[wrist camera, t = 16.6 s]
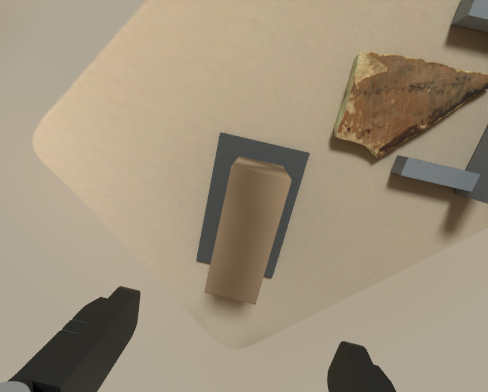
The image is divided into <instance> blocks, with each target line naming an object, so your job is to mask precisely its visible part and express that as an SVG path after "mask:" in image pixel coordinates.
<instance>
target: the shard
mask: <svg viewBox="0 0 488 392" xmlns="http://www.w3.org/2000/svg"><path fill="white" fill-rule="evenodd" d="M486 89H488V75H487V74H483V73H480V72H467V71H464V70H459V69H454V68H451V67H448V66H446V65H443V64H440V63H434V62H428V61H425V60H422V59H418V58H413V57H412V58H407V57H405V56H402V55H392V54H384V55H379V54H376V53H373V52H364V53H358V55H357V56H356V57H355V60H354V63H353V69H352V72H351V76H350V79H349V83H348V87H347V92H346V96H345V99H344V101H343V104H342V106H341V108H340V111H339V115H338V118H337V120H336V122H335V124H334V135H335V137H337V138H340V139H343V140H349V141H352V142H355V143H358V144H361V145H364V146H365V147H366V148H367V149H368V150H369V151H370V153H371V154H372V155H373V156H375V157H376V158H380V157H382V156H383V155H384V154H385V153H388V152H389V151H390V150H392V149H394V148H396V147H398V146H399V145H401V144H402V143H403V142H404V141H406V140H407V139H409V138H411V137H413V136H415V135H417V134H418V133H419V132H421V131H422V130H424V129H426V128H428V127H429V126H431V125H433V124H435V123H436V122H438V121H439V120H440V119H442V118H444V117H445V116H447V115H448V114H450V113H451V112H453V111H454V110H455V109H457V108H458V107H460V106H461V105H462V104H464V103H465V102H466V101H467V100H468V99H470V98H472V97H473V96H474V95H476V94H478V93H480V92H481V91H483V90H486Z"/></svg>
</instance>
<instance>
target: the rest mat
mask: <svg viewBox="0 0 488 392" xmlns="http://www.w3.org/2000/svg"><path fill="white" fill-rule="evenodd" d="M239 156H242V157H246V158H251V159H255V160H259V161H263V162H267V163H272V164H276V165H280V166H283V167H284V169H285V170H286V172H287V173H288V175H289V177H290V178H291V180H292V181H291V184H290V188H289V191H288V195H287V198H286V201H285V205H284V208H283V212H282V215H281V219H280V222H279V225H278V229H277V232H276V236H275V239H274V242H273V246H272V249H271V253H270V256H269V260H268V263H267V266H266V270H265V273H264V276H266V277H270V278H272V277H273V273H274V270H275V267H276V263H277V260H278V257H279V253H280V250H281V247H282V243H283V240H284V237H285V233H286V230H287V227H288V223H289V220H290V217H291V213H292V210H293V207H294V203H295V200H296V197H297V193H298V190H299V187H300V183H301V180H302V177H303V173H304V170H305V167H306V163H307V160H308V157H309V153H307V152H303V151H298V150H294V149H290V148H285V147H281V146H277V145H272V144H268V143H264V142H260V141H255V140H251V139H247V138H242V137H238V136H234V135H229V134H225V133H220V136H219V142H218V147H217V152H216V158H215V163H214V168H213V174H212V179H211V184H210V190H209V195H208V201H207V206H206V211H205V217H204V222H203V227H202V233H201V238H200V243H199V249H198V254H197V259H196V260H197V261H202V262H206V263H210V264H211V260H212V255H213V250H214V246H215V241H216V236H217V232H218V227H219V222H220V218H221V213H222V208H223V203H224V199H225V194H226V189H227V185H228V180H229V175H230V171H231V166H232V165H233V163H234V162H235V161H236V160H237V158H238V157H239Z"/></svg>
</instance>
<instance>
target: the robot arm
mask: <svg viewBox="0 0 488 392" xmlns="http://www.w3.org/2000/svg"><path fill="white" fill-rule="evenodd" d="M139 302H140V291H138V290H134V289H130V288H126V287H122V286H120V287H118V288H117V289H116V290H115V291H114V292H113V293H112V295H111V296H110V297H109V298H108V299H107V298H102V297H100V298H98V299H96V300H94V301H93V302H91V303H89V304H87V305H86V306H85V307H83V308H82V309H81V310H80V311H79V312H78V313H77V314H76V315H75V317H73V319H72V320H70V321H69V322H68V323H67V324H66V325H65V326H64V327H63V329H62V330H61V331H59V332H58V333H57V334H56V335H55V336H54V337H53V338H52V339H51V340H50V341H49V342H48V343H47V344H46V345H45V346H44V347H43V348H42V349H41V350H40V351H39V352H38V353H37V354H36V355H35V356H34V357H33V358H32V359H31V360H30V361H29V362H28V363H27V364H26V365H25V366H24V367H23V368H22V369H21V370H20V371H19V372H18V373H17V374H15V375H14V376H13V377H12V378H11V379H10V380H8V381H7V382H4V383H0V392H97V391H98V389H99V388H100V386H101V385H102V383H103V382H104V380H105V378H106V377H107V375H108V374H109V372H110V371H111V369H112V367H113V366H114V364H115V363H116V361H117V359H118V358H119V356H120V355H121V353H122V351H123V350H124V349H125V347H126V345H127V344H128V342H129V341H130V339H131V337H132V335H133V333H134V331H135V328H136V325H137V320H138V312H139ZM327 383H328V390H329V392H396V390H395V388H394V386H393V384H392V383H391V381H390V380H389V379H388V378H387V376H386V375H385V374H384V372H383V371H382V370H381V369H380V367H379V366H376V365H373V363H372V361H371V358H370V356H369V354H368V352H367V350H366V348H364V346H361V345H357V344H353V343H349V342H345V341H342V342H341V343H340V345H339V347H338V349H337V351H336V354H335V356H334V358H333V361H332V363H331V365H330V367H329V370H328V377H327Z"/></svg>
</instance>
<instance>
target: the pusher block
mask: <svg viewBox="0 0 488 392" xmlns="http://www.w3.org/2000/svg"><path fill="white" fill-rule="evenodd" d="M291 181H292V180H291V178H290V177H289V175H288V173H287V172H286V170H285V169H284V167H283V166H280V165H276V164H272V163H267V162H263V161H259V160H255V159H251V158H246V157H242V156H239V157H238V158H237V160H236V161H235V162H234V163H233V165H232V166H231V171H230V175H229V180H228V185H227V189H226V194H225V199H224V203H223V208H222V213H221V218H220V222H219V227H218V232H217V236H216V241H215V246H214V250H213V255H212V260H211V265H210V269H209V274H208V279H207V283H206V288H205V293H209V294H213V295H217V296H221V297H226V298H230V299H234V300H238V301H242V302H247V303H251V304H256V301H257V297H258V294H259V290H260V287H261V284H262V280H263V277H264V273H265V270H266V266H267V263H268V260H269V256H270V253H271V249H272V246H273V242H274V239H275V236H276V232H277V229H278V225H279V222H280V219H281V215H282V212H283V208H284V205H285V201H286V198H287V195H288V191H289V188H290V184H291Z"/></svg>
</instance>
